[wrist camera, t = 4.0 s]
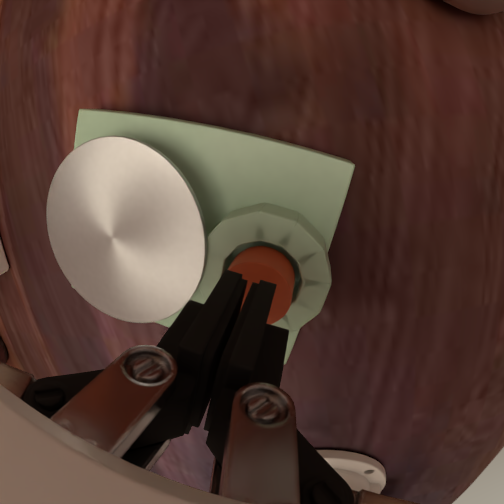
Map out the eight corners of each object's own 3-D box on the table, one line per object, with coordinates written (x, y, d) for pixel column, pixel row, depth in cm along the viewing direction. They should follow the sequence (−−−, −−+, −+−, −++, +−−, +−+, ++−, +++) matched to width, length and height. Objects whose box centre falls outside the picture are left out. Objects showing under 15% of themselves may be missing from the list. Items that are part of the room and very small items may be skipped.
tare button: (303, 256, 13) (300, 274, 11) (284, 312, 14) (280, 335, 12) (237, 237, 13) (226, 252, 12) (224, 294, 14) (213, 314, 13)
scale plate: (227, 156, 12) (225, 157, 11) (192, 344, 15) (190, 347, 15) (54, 126, 13) (50, 127, 12) (53, 286, 16) (50, 288, 16)
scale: (358, 162, 14) (370, 171, 11) (294, 346, 18) (288, 386, 15) (99, 108, 15) (58, 109, 12) (88, 275, 20) (56, 299, 17)
